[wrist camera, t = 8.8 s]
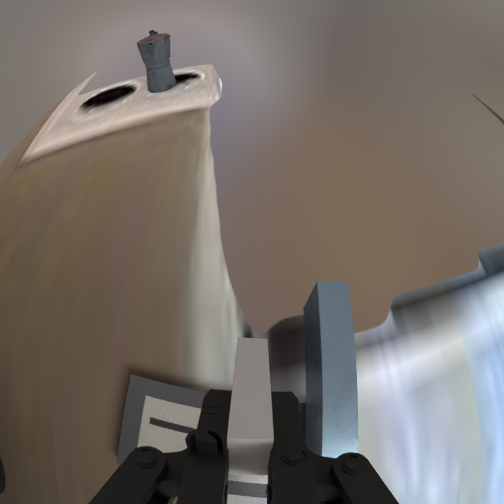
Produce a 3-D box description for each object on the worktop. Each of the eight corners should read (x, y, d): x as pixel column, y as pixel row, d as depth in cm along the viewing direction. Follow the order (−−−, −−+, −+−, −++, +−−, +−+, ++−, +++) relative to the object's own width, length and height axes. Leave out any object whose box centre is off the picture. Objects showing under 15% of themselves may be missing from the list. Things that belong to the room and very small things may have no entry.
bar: (336, 493, 19) (359, 513, 13) (295, 498, 19) (309, 522, 13) (334, 307, 30) (354, 281, 24) (297, 307, 30) (309, 281, 24)
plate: (122, 461, 22) (112, 464, 20) (136, 375, 28) (127, 372, 26) (332, 493, 21) (339, 499, 18) (345, 404, 27) (353, 403, 24)
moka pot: (144, 99, 64) (132, 38, 46) (148, 81, 71) (138, 29, 54) (177, 92, 65) (168, 29, 48) (176, 75, 73) (169, 22, 56)
